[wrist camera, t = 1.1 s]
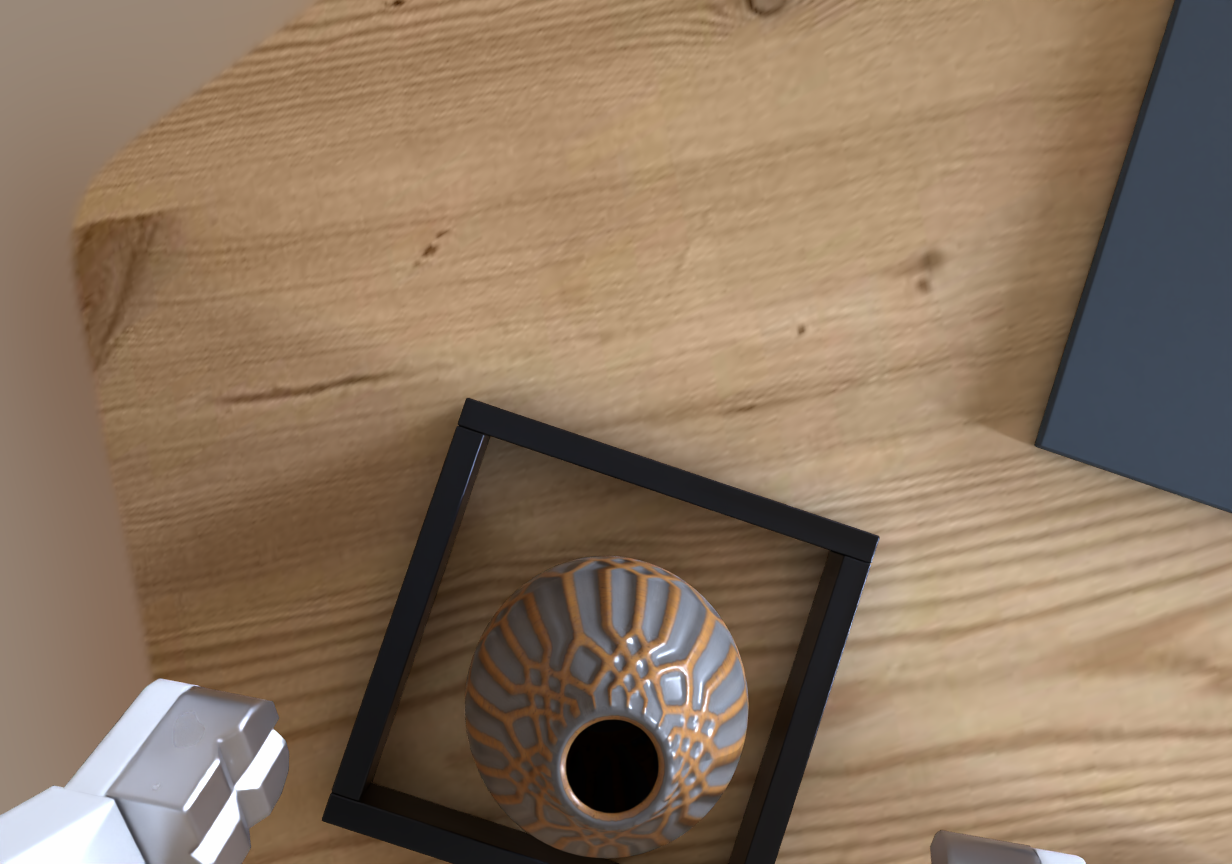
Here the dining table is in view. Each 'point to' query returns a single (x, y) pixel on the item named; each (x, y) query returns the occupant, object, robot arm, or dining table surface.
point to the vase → (606, 707)
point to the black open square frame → (478, 849)
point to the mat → (1162, 285)
